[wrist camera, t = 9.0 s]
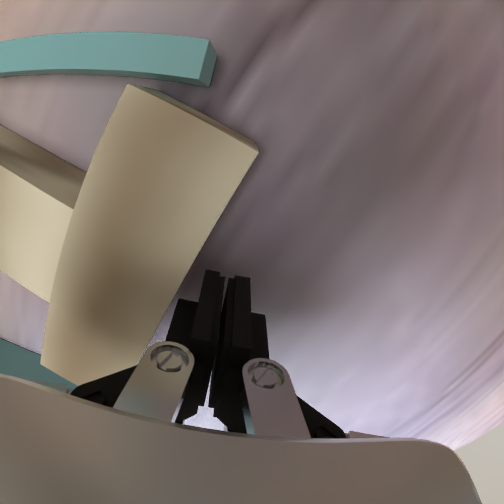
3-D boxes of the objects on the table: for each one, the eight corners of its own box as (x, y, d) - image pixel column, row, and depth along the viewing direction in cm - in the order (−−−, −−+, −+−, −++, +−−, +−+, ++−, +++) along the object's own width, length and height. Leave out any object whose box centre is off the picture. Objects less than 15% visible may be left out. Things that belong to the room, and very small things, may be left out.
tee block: (255, 142, 11) (259, 152, 8) (132, 361, 15) (117, 405, 12) (15, 33, 8) (-29, 26, 5) (-38, 252, 12) (-70, 277, 9)
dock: (217, 55, 9) (209, 39, 7) (160, 404, 16) (153, 438, 14) (-39, 60, 8) (-72, 61, 5) (-19, 340, 15) (-37, 362, 12)
